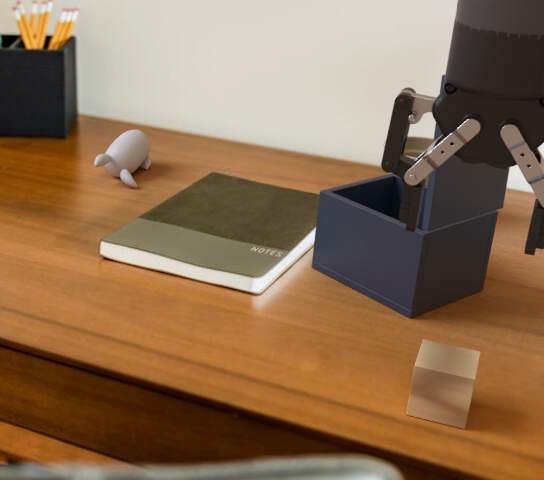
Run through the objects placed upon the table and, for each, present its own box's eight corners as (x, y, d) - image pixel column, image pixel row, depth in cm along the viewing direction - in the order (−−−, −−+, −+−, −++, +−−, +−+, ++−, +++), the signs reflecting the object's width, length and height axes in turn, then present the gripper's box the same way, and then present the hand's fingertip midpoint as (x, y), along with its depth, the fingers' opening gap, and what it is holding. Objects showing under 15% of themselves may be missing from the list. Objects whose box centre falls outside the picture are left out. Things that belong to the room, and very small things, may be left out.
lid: (441, 74, 78) (488, 84, 75) (519, 62, 85) (566, 71, 81) (421, 229, 84) (464, 245, 80) (496, 206, 90) (539, 220, 87)
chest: (311, 267, 97) (319, 190, 93) (383, 244, 103) (394, 172, 100) (410, 318, 87) (424, 234, 83) (483, 290, 93) (498, 211, 90)
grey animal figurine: (115, 133, 126) (77, 171, 117) (140, 115, 123) (103, 153, 114) (143, 167, 128) (107, 208, 118) (168, 151, 125) (134, 191, 115)
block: (471, 400, 74) (480, 351, 72) (465, 429, 70) (475, 379, 68) (414, 386, 76) (422, 338, 74) (405, 414, 72) (414, 365, 70)
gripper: (397, 15, 60) (364, 239, 66) (631, 41, 55) (571, 279, 61) (414, 1, 66) (383, 206, 73) (625, 23, 61) (571, 240, 68)
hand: (469, 239), depth 67 cm, fingers open, 8 cm apart
